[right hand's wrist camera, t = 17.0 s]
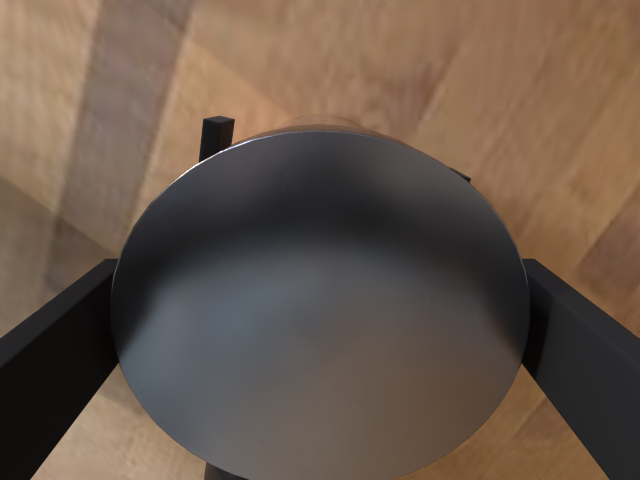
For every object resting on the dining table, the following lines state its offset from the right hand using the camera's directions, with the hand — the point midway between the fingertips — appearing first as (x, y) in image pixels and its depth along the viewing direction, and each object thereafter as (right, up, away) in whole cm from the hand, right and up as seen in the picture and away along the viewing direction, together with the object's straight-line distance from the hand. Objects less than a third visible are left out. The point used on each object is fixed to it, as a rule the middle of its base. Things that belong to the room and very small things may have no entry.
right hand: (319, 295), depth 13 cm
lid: (0, -1, -2) cm, 2 cm away
